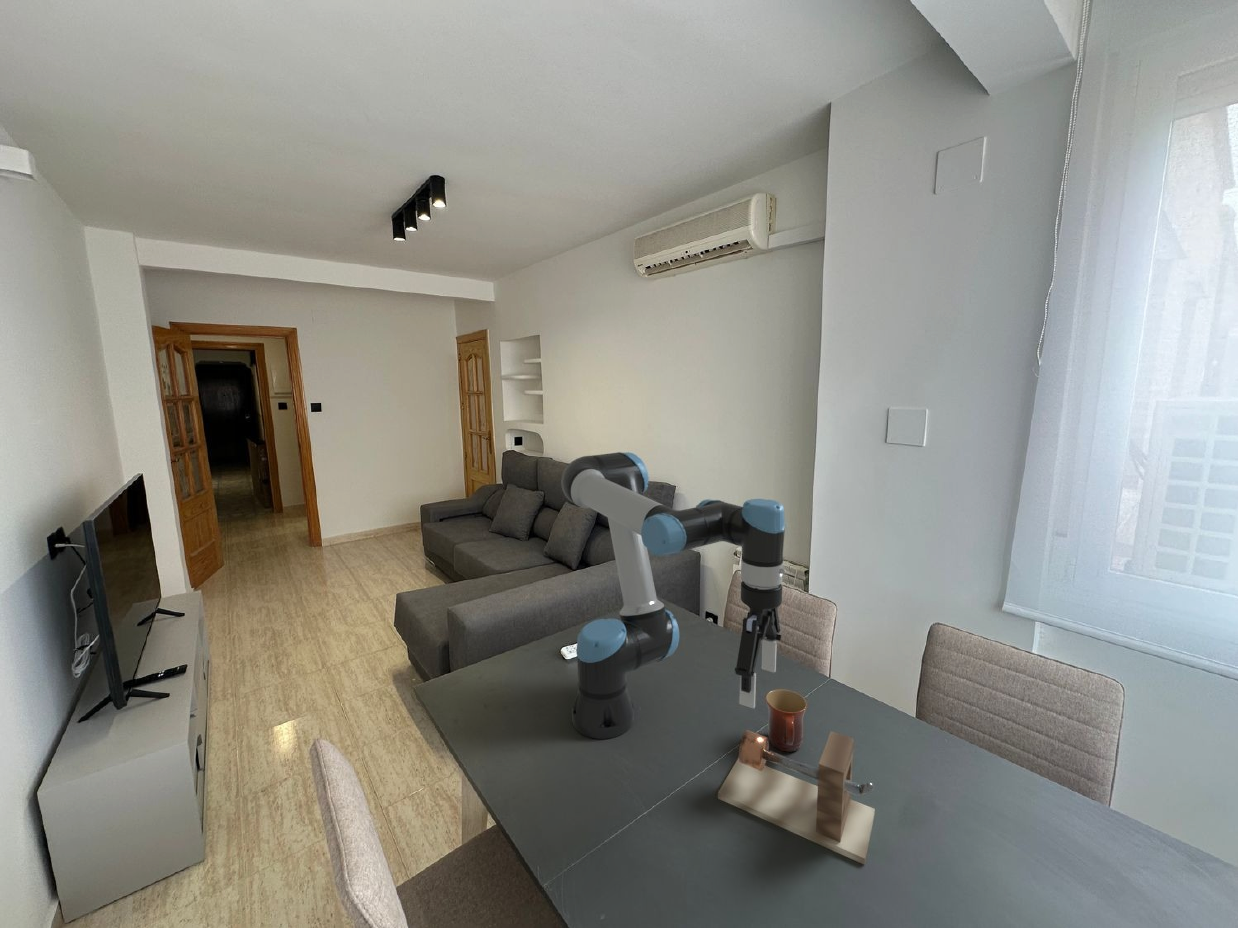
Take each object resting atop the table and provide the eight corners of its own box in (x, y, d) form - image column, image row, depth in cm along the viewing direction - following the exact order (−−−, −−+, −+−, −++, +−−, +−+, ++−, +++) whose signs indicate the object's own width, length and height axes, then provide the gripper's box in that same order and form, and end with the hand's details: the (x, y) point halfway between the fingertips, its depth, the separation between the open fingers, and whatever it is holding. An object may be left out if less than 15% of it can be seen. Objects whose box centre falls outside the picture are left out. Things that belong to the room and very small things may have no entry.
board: (717, 798, 99) (717, 792, 98) (739, 760, 108) (739, 755, 108) (864, 864, 84) (864, 858, 84) (874, 814, 94) (874, 808, 94)
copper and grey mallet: (735, 767, 99) (735, 739, 98) (745, 749, 104) (746, 722, 103) (870, 823, 86) (872, 791, 85) (875, 799, 91) (876, 769, 90)
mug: (763, 727, 119) (764, 687, 117) (802, 732, 117) (803, 691, 116) (767, 764, 107) (768, 719, 106) (811, 769, 105) (812, 724, 104)
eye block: (815, 831, 89) (818, 763, 87) (828, 794, 98) (830, 731, 96) (840, 842, 87) (843, 772, 85) (850, 803, 95) (853, 738, 93)
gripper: (761, 611, 83) (758, 729, 86) (798, 565, 104) (794, 662, 107) (717, 601, 87) (716, 715, 90) (761, 559, 107) (758, 652, 111)
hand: (758, 686), depth 98 cm, fingers open, 13 cm apart
